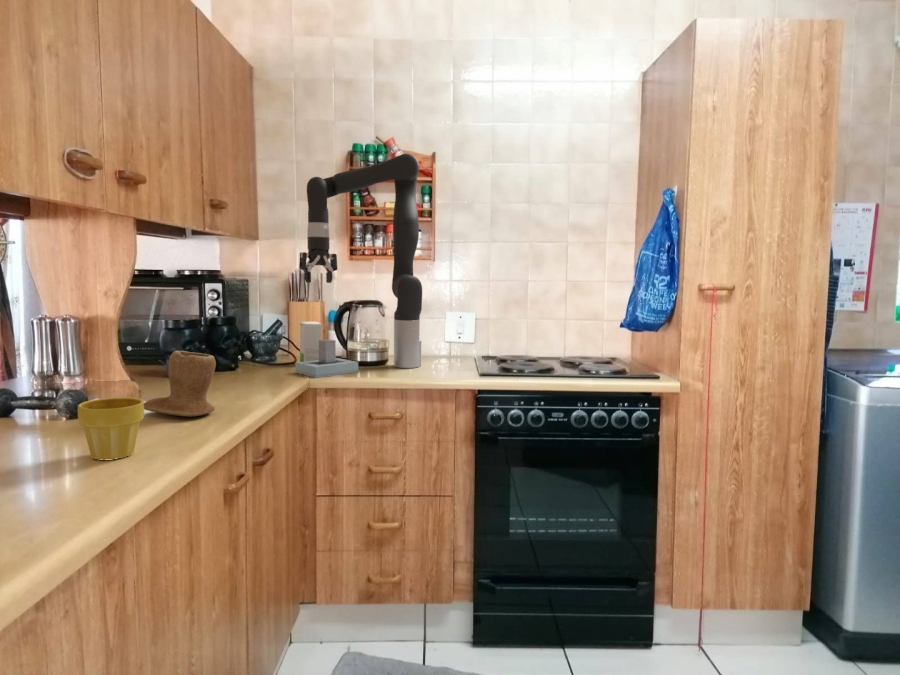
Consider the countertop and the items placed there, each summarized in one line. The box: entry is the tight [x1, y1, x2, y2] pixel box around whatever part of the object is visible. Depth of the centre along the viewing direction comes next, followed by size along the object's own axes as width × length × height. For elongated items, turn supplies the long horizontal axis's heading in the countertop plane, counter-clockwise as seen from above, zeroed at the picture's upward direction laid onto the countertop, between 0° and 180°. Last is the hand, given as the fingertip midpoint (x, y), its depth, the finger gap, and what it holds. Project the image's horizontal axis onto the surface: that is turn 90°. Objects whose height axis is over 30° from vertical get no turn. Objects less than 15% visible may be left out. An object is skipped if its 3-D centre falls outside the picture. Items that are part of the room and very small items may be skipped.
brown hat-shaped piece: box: [144, 350, 217, 417], centre depth 136 cm, size 15×12×15 cm
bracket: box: [319, 338, 337, 365], centre depth 196 cm, size 9×4×10 cm, turn 137°
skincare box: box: [299, 320, 323, 362], centre depth 213 cm, size 8×7×16 cm
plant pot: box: [77, 396, 145, 460], centre depth 105 cm, size 10×10×10 cm
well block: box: [294, 357, 359, 379], centre depth 196 cm, size 17×12×4 cm
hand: (318, 282), depth 205 cm, fingers open, 8 cm apart
